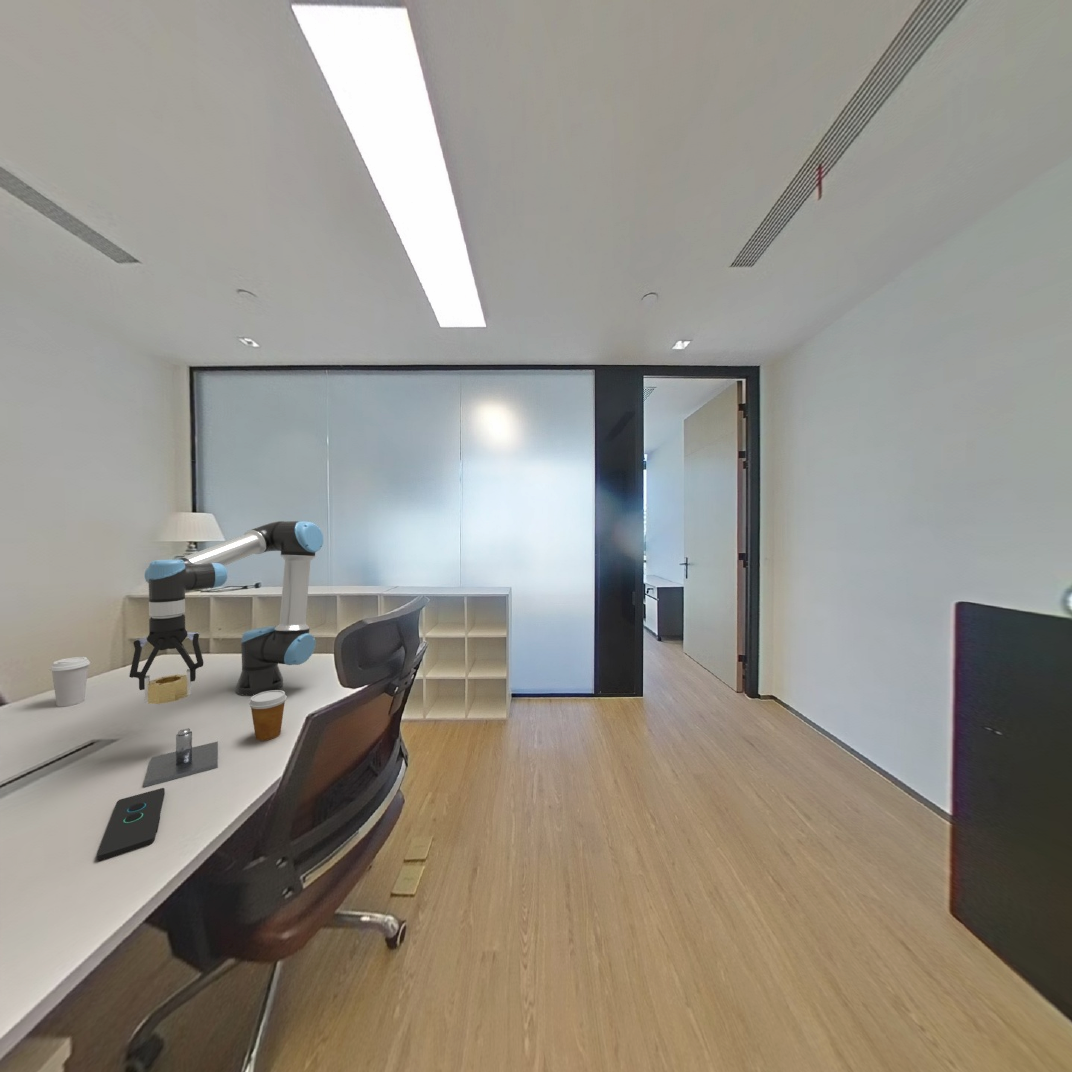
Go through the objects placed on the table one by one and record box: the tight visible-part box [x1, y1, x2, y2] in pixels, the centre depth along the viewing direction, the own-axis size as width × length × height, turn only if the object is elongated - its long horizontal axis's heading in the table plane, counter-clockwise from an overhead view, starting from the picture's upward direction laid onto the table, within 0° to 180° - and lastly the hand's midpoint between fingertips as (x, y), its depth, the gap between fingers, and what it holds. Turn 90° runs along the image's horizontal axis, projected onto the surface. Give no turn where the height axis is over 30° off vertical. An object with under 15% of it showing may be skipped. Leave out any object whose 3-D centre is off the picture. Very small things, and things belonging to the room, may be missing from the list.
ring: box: [147, 674, 188, 705], centre depth 116 cm, size 8×8×5 cm
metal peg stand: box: [143, 728, 219, 788], centre depth 109 cm, size 14×14×9 cm
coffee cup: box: [49, 656, 91, 708], centre depth 146 cm, size 10×10×15 cm
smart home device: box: [96, 787, 166, 862], centre depth 88 cm, size 8×2×20 cm
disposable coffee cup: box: [248, 689, 288, 741], centre depth 125 cm, size 10×10×12 cm
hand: (168, 696), depth 117 cm, fingers closed on ring, 8 cm apart
